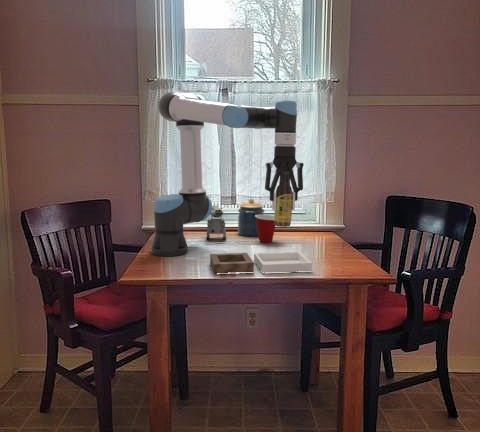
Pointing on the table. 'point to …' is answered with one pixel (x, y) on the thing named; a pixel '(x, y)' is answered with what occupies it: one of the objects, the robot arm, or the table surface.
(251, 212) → the canister
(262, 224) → the plastic cup
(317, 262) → the table surface
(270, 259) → the plastic tray
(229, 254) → the walnut holder
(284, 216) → the sauce bottle
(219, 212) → the figurine
